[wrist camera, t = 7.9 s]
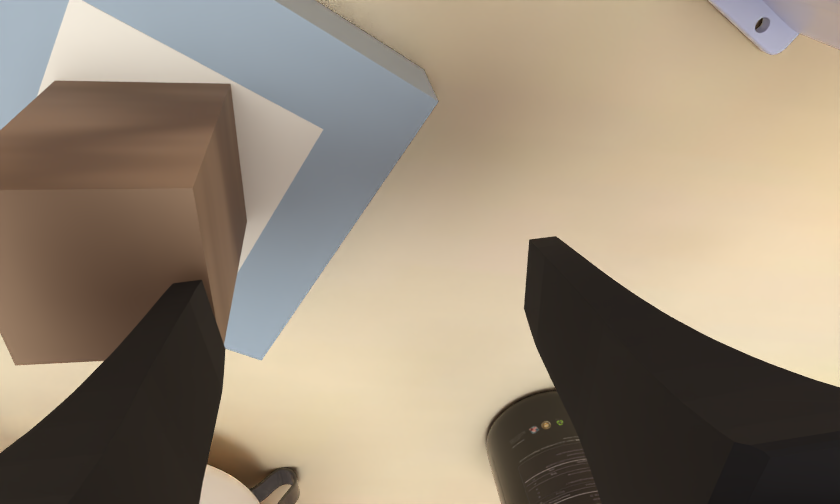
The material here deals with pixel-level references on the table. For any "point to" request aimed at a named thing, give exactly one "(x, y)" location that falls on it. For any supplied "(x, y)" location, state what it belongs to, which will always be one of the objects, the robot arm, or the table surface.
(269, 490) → the coffee press
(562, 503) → the supplement bottle
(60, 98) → the walnut block
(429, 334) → the table surface
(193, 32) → the slate plinth
